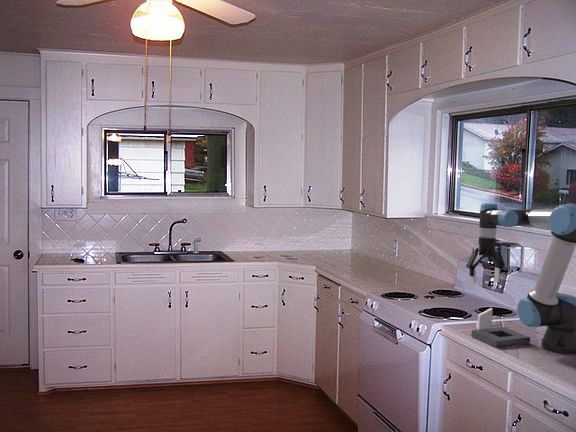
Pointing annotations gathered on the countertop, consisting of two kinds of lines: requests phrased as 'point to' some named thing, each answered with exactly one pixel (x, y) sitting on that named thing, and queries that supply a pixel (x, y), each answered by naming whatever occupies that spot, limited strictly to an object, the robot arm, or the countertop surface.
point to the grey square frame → (500, 337)
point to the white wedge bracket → (484, 320)
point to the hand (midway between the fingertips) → (484, 282)
